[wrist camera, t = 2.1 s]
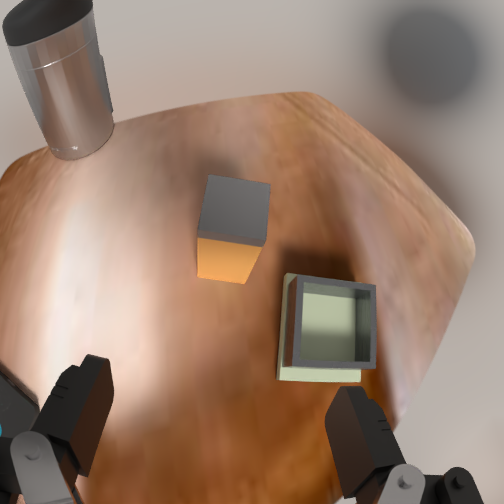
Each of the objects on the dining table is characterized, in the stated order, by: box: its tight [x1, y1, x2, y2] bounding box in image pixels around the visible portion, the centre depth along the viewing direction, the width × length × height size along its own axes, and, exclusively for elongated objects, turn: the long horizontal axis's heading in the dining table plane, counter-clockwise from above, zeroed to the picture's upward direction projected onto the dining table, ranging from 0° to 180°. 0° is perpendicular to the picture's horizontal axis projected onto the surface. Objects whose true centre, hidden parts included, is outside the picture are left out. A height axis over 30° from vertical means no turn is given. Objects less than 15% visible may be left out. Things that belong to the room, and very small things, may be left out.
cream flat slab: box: [276, 273, 361, 382], centre depth 28 cm, size 10×8×1 cm
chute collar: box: [282, 275, 376, 370], centre depth 26 cm, size 8×8×3 cm
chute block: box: [197, 174, 270, 284], centre depth 25 cm, size 4×4×10 cm
